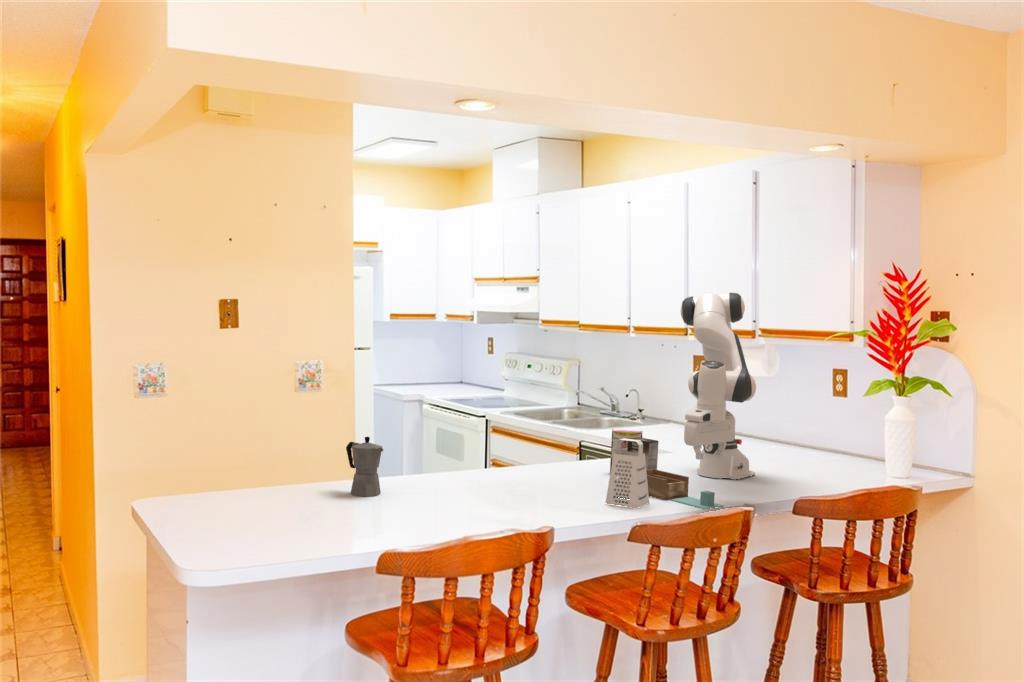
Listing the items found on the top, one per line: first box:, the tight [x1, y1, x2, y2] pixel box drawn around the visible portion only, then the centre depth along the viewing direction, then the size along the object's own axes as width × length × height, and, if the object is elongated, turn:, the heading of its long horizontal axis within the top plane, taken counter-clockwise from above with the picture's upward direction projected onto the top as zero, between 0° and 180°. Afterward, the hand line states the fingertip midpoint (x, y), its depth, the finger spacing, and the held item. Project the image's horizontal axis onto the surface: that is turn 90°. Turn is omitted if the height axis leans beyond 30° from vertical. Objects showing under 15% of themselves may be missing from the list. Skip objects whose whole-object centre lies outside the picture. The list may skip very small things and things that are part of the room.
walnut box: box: [646, 469, 690, 501], centre depth 299 cm, size 11×16×6 cm
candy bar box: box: [609, 428, 643, 474], centre depth 331 cm, size 11×5×16 cm, turn 84°
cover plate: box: [670, 490, 725, 510], centre depth 286 cm, size 8×14×5 cm, turn 37°
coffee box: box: [627, 437, 659, 470], centre depth 312 cm, size 9×6×16 cm
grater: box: [604, 438, 650, 509], centre depth 282 cm, size 10×10×20 cm
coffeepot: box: [345, 436, 384, 498], centre depth 284 cm, size 15×9×18 cm, turn 54°
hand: (709, 457), depth 283 cm, fingers open, 8 cm apart
